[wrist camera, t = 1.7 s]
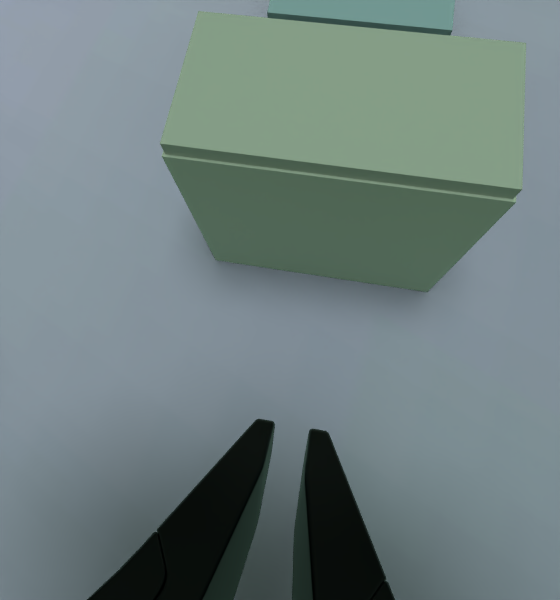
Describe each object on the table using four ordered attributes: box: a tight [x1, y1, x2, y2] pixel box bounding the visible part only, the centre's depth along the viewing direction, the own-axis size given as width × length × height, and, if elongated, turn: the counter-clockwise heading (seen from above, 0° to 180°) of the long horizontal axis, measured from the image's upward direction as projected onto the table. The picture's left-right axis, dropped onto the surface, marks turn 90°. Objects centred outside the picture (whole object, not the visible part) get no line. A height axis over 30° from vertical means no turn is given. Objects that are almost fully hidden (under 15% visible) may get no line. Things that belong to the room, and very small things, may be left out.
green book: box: [160, 11, 526, 292], centre depth 20 cm, size 6×12×11 cm, turn 80°
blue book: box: [267, 0, 455, 36], centre depth 21 cm, size 4×7×10 cm, turn 80°
